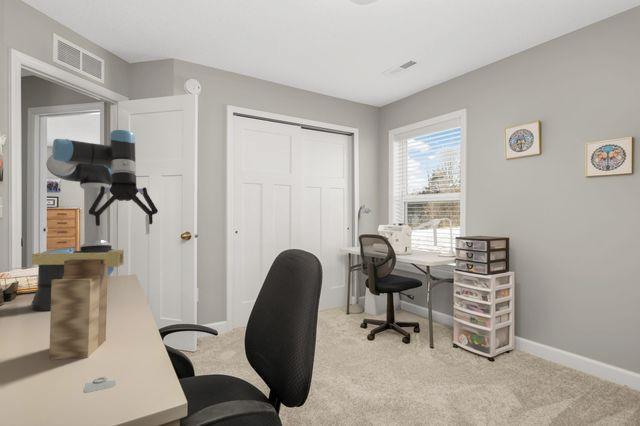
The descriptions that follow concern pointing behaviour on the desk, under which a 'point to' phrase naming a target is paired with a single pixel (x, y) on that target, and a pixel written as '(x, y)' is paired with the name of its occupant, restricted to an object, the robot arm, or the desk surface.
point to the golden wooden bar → (79, 258)
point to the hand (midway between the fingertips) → (125, 234)
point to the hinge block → (78, 309)
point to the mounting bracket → (99, 385)
